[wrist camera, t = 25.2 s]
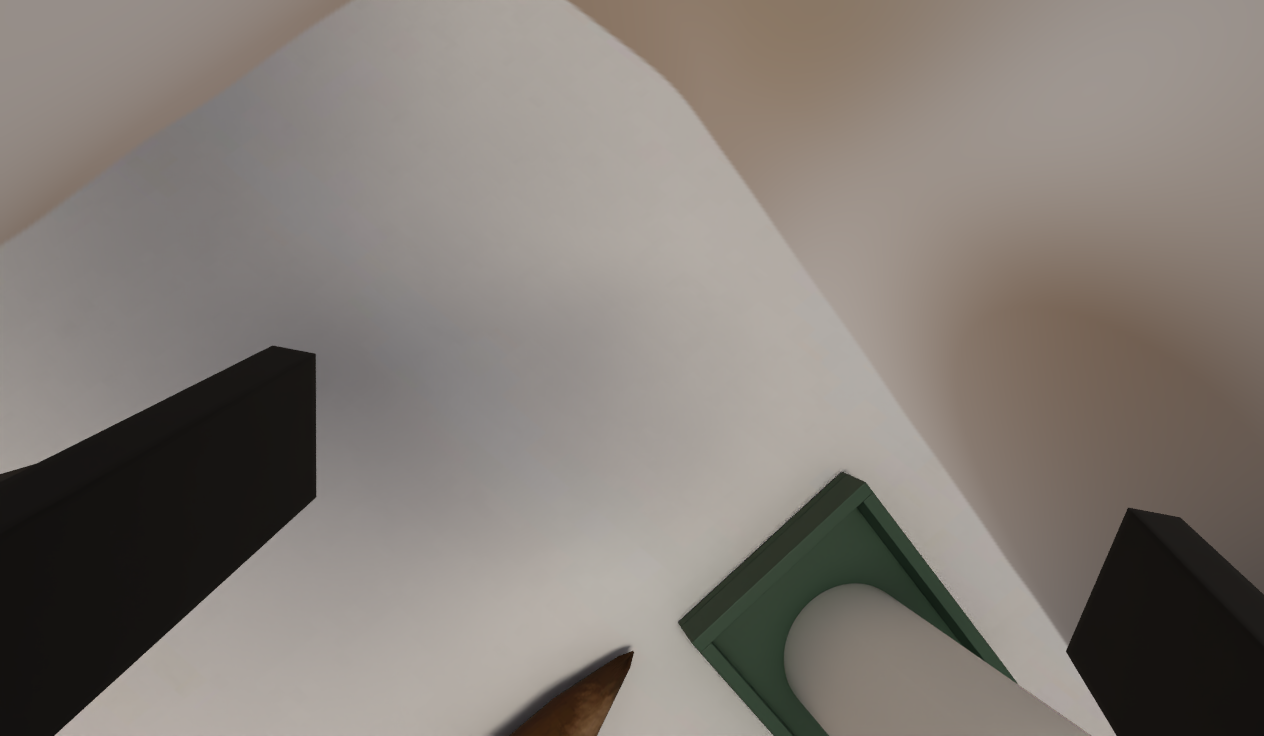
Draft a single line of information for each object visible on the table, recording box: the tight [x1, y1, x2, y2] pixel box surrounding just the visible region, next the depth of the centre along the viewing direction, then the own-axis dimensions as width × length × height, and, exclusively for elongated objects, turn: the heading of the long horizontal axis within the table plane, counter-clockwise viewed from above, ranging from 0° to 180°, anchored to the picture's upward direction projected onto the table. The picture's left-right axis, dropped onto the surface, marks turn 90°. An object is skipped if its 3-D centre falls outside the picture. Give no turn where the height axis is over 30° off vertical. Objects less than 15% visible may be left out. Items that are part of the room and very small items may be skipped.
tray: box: [679, 472, 1017, 736], centre depth 43 cm, size 17×13×3 cm
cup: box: [784, 583, 1091, 736], centre depth 36 cm, size 8×8×16 cm
